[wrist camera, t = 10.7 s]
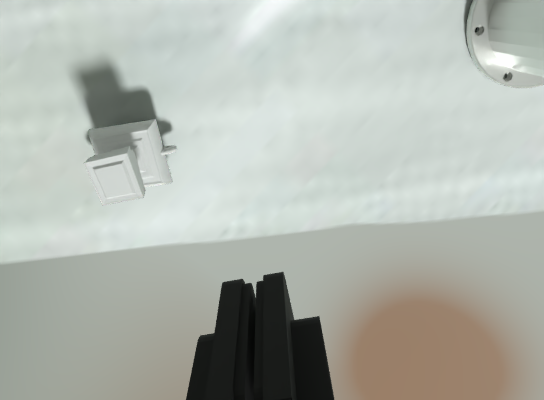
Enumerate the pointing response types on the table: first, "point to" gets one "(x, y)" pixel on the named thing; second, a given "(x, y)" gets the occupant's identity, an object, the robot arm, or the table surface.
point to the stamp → (127, 161)
